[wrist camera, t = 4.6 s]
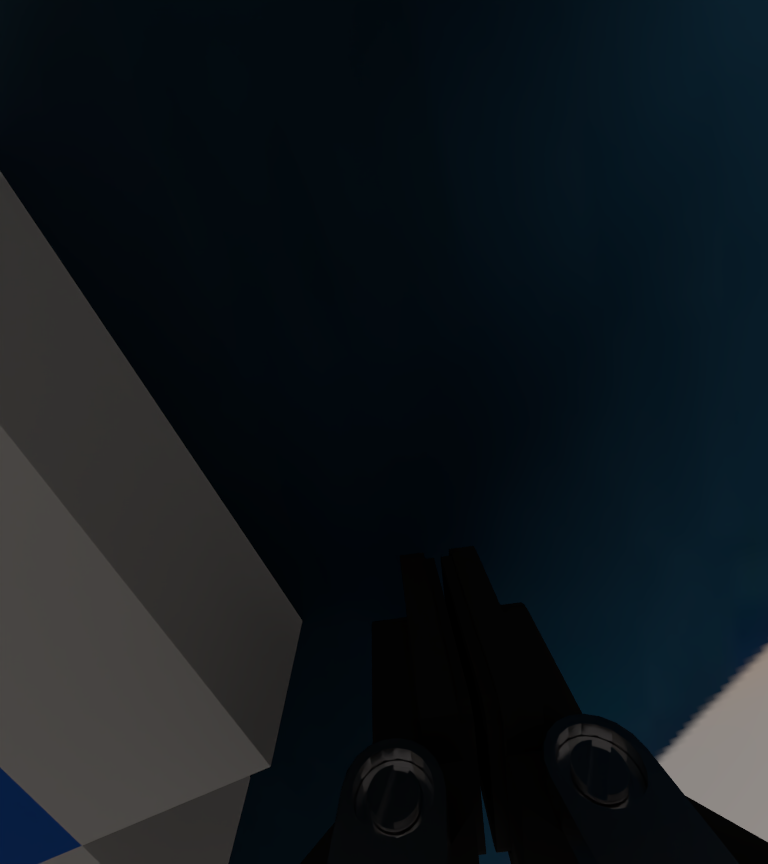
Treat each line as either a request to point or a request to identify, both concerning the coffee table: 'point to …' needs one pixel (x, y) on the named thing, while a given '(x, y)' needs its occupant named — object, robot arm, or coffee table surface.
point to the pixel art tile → (117, 600)
